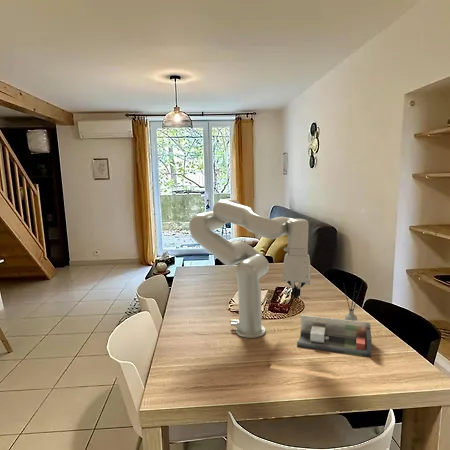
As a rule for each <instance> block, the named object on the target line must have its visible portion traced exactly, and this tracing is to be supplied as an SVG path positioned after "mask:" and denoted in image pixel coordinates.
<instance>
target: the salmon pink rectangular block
mask: <svg viewBox="0 0 450 450" xmlns="http://www.w3.org/2000/svg"><path fill="white" fill-rule="evenodd" d="M356 349H361V350H365V338H360V337H356Z"/></svg>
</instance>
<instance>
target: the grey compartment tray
mask: <svg viewBox="0 0 450 450" xmlns="http://www.w3.org/2000/svg"><path fill="white" fill-rule="evenodd" d="M312 326H319V327H325V336H327V337H329V341H325V344H317V343H310V333H311V329H312ZM356 337H360V338H365V350H361V349H356ZM372 340H373V339H372V332H371V322H370V321H362V320H357V321H354V320H346V318H345V319H344V318H334V317H324V316H318V315H317V316H316V315H308V314H301V315H300V336H299V339H298V340H297V341H296V348H300V349H308V350H314V351H320V352H329V353H336V354H343V355H347V356H348V355H350V356H357V357H364V358H369V359H370V358H372Z"/></svg>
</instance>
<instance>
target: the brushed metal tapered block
mask: <svg viewBox="0 0 450 450" xmlns="http://www.w3.org/2000/svg"><path fill="white" fill-rule="evenodd" d="M325 341H329V337H327V336H325V327H319V326H312V329H311V333H310V343H317V344H325Z"/></svg>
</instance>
